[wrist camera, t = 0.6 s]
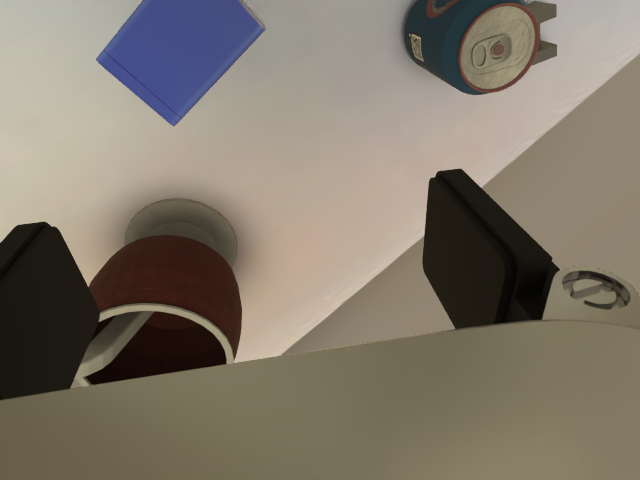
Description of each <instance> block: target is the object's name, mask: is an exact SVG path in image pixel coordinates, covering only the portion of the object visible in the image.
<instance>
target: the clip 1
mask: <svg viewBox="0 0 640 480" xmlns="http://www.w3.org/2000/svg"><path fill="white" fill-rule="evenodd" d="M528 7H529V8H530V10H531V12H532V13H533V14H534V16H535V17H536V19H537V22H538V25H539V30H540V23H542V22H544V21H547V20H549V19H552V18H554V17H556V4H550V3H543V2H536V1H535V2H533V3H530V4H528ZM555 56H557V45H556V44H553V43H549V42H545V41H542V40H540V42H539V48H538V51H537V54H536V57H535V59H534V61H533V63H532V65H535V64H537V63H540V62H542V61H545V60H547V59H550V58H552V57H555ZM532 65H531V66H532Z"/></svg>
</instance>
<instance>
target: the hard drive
mask: <svg viewBox="0 0 640 480" xmlns="http://www.w3.org/2000/svg"><path fill="white" fill-rule="evenodd" d="M264 30H265V27H264V26H263V25H262V24H261V22H260V21H259V20H258V19H257V18H256V17H255V16H254V15H253V13H252V12H251V11H250V10H249V9H248V8H247V7H246V5H245V4H244V3H243V2H242V1H241V0H143V1H142V3H141V4H140V5H139V6H138V8H137V9H136V10H135V11H134V13H133V14H132V15H131V16H130V17H129V19H128V20H127V21H126V23H125V24H124V25H123V26H122V27H121V29H120V30H119V31H118V33H117V34H116V35H115V36H114V38H113V39H112V40H111V41H110V43H109V44H108V45H107V46H106V48H105V49H104V50H103V51H102V52H101V54H100V55H99V56H98V57H97V59H96V60H97V61H98V63H99V64H101V65H102V66H103V67H104V68H105V69H106V70H107V71H109V72H110V73H111V74H112V75H113V76H114V77H116V78H117V79H118V80H119V81H120V82H122V83H123V84H124V85H125V86H126V87H127V88H129V89H130V90H131V91H132V92H133V93H135V94H136V95H137V96H138V97H139V98H140V99H142V100H143V101H144V102H145V103H146V104H147V105H149V106H150V107H151V108H152V109H153V110H155V111H156V112H157V113H158V114H159V115H160V116H162V117H163V118H164V119H165V120H166V121H167V122H169V123H170V124H171V125H173V126H175V125H176V124H177V123H178V122H179V121H180V120H181V119H182V118H183V117H184V116H185V114H186V113H187V112H188V111H189V110H190V109H191V108H192V107H193V106H194V105H195V104H196V103H197V102H198V101H199V100H200V98H201V97H202V96H203V95H204V94H205V93H206V92H207V91H208V90H209V89H210V88H211V87H212V86H213V85H214V84H215V83H216V81H217V80H218V79H219V78H220V77H221V76H222V75H223V74H224V73H225V72H226V71H227V70H228V69H229V68H230V67H231V65H232V64H233V63H234V62H235V61H236V60H237V59H238V58H239V57H240V56H241V55H242V54H243V53H244V52H245V51H246V49H247V48H248V47H249V46H250V45H251V44H252V43H253V42H254V41H255V40H256V39H257V38H258V37H259V36H260V35H261V33H262V32H263V31H264Z"/></svg>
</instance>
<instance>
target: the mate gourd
mask: <svg viewBox="0 0 640 480" xmlns="http://www.w3.org/2000/svg"><path fill="white" fill-rule="evenodd" d="M236 253H237V241H236V236H235V234H234V231H233V229H232V227H231V226H230V224H229V223H228V221H227V220H226V219H225V218H224V217H223V216H222V215H221V214H220V213H218V212H217V211H216V210H214V209H213V208H211V207H209V206H207V205H205V204H202V203H200V202H196V201H192V200H187V199H166V200H162V201H158V202H155V203H152V204H150V205H148V206H146V207H145V208H143V209H142V210H141V211H139V212H138V213H137V214H136V215H135V217H134V218H133V219H132V220H131V223H130V225H129V227H128V229H127V231H126V236H125V247H123V248H122V249H120V250H119V251H118V252H117V253H116V254H114V255H113V256H112V257H111V258H110V259H109V260H108V261H107V263H106V264H105V265H104V266H103V267H102V269H101V270H100V271H99V272H98V274H97V275H96V276H95V277H94V279H93V280H92V281H91V283H90V285H89V287H88V288H89V290H90V292H91V294H92V296H93V298H94V300H95V302H96V303H97V305H98V308H99V311H100V320H99V323H98V325H97V327H96V330H95V332H94V334H93V337H92V339H91V341H90V343H89V346H88V348H87V350H86V353H85V355H84V357H83V360H82V362H81V364H80V367H79V369H78V371H77V374H76V376H75V378H74V379H76V380H77V381H78V382H79V383H80V384H81V385H82V386H83V387H84V386H91V385H97V384H103V383H110V382H116V381H123V380H129V379H135V378H142V377H148V376H155V375H161V374H168V373H174V372H181V371H187V370H193V369H200V368H206V367H213V366H219V365H225V364H232V363H233V362H234V359H235V357H236V353H237V349H238V345H239V340H240V334H241V321H242V307H241V300H240V295H239V289H238V284H237V281H236V279H235V276H234V274H233V271H232V269H231V268H232V266H233V264H234V261H235V259H236Z"/></svg>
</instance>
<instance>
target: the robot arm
mask: <svg viewBox="0 0 640 480" xmlns="http://www.w3.org/2000/svg"><path fill="white" fill-rule="evenodd" d="M423 269H424V272H425V275H426V276H427V278H428V280H429V282H430V284H431V285H432V287H433V289H434V291H435V293H436V294H437V296H438V298H439V300H440V302H441V303H442V305H443V307H444V309H445V311H446V312H447V314H448V316H449V318H450V320H451V321H452V323H453V325H454V327H455V329H454V330H447V331H441V332H434V333H427V334H421V335H414V336H407V337H401V338H394V339H387V340H381V341H374V342H367V343H361V344H355V345H348V346H342V347H335V348H328V349H322V350H315V351H309V352H303V353H296V354H290V355H283V356H277V357H270V358H264V359H258V360H251V361H245V362H238V363H232V364H225V365H219V366H213V367H206V368H200V369H193V370H187V371H181V372H174V373H168V374H161V375H155V376H148V377H142V378H135V379H129V380H123V381H116V382H110V383H103V384H97V385H91V386H84V387H78V388H72V389H70V387H71V385H72V383H73V380H74V378H75V376H76V374H77V371H78V369H79V367H80V364H81V362H82V360H83V357H84V355H85V353H86V350H87V348H88V346H89V343H90V341H91V339H92V337H93V334H94V332H95V330H96V327H97V325H98V323H99V320H100V311H99V308H98V305H97V303H96V302H95V300H94V298H93V296H92V294H91V292H90V290H89V288H88V286H87V284H86V282H85V280H84V278H83V276H82V274H81V272H80V270H79V268H78V266H77V264H76V262H75V260H74V258H73V256H72V254H71V252H70V250H69V248H68V246H67V244H66V243H65V241H64V239H63V237H62V235H61V233H60V231H59V230H58V229H57V228H56V227H54V226H53V227H51V226H50V225H49V224H48V223H46V222H38V223H31V224H23V225H17V226H16V227H15V228H14V229H13V230H12V231H11V232H10V233H9V234H8V235H7V236H6V238H5V239H4V240H3V241H2V242H1V243H0V480H640V296H639V293H638V292H637V290H636V289H635V288H634V287H633V286H632V285H631V284H630V283H629V282H627V281H626V280H625V279H623V278H621V277H619V276H618V275H615V274H614V273H612V272H609V271H606V270H602V269H599V268H594V267H588V266H572V267H567V268H563V269H562V270H560V269H559V268H558V267H557V266H556V265H555V264H554V263H553V262H552V257H551V256H550V255H549V254H548V253H547V252H546V251H545V250H544V249H543V248H542V247H541V246H540V245H539V244H538V243H537V242H536V241H535V240H534V239H533V238H532V237H531V236H530V235H529V234H528V233H527V232H526V231H524V230H523V228H521V227H520V226H519V225H518V224H517V223H516V222H515V221H514V220H513V219H512V218H511V217H510V216H509V215H508V214H507V213H506V212H505V211H504V210H503V209H502V208H501V207H500V206H499V205H498V204H497V203H496V202H495V201H494V200H493V199H492V198H490V196H489V195H488V194H487V193H486V192H485V191H484V190H483V189H482V188H481V187H479V186H478V185H477V184H476V183H475V182H474V181H473V180H472V179H471V178H470V177H469V176H468V175H467V174H466V173H465V172H464V171H463V170H462V169H453V170H445V171H438V172H437V174H436V176H435V177H434V178H431V179H430V181H429V188H428V200H427V212H426V224H425V237H424V249H423Z"/></svg>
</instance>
